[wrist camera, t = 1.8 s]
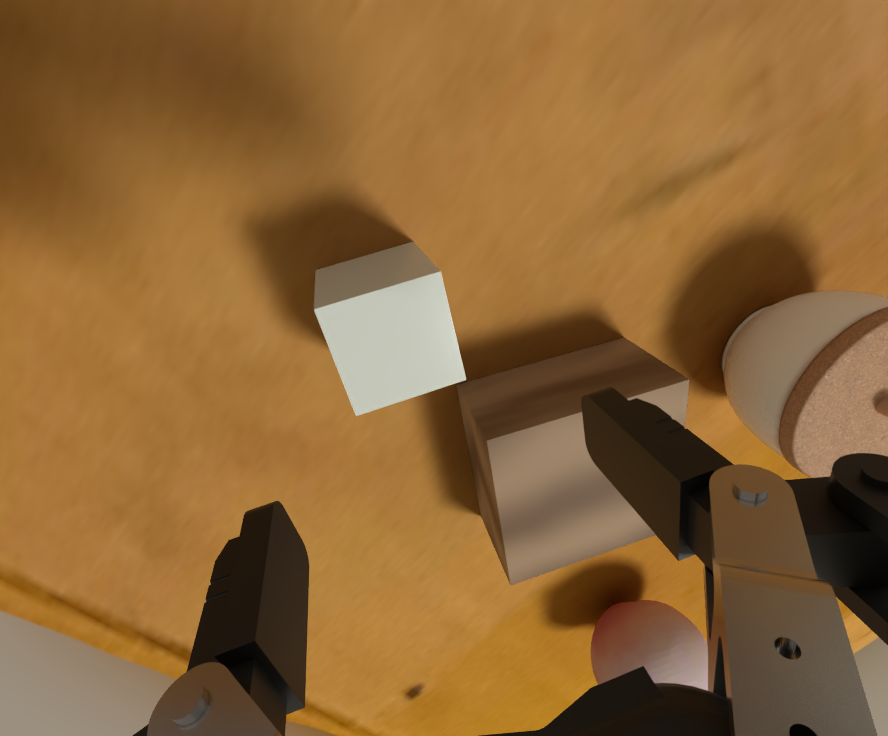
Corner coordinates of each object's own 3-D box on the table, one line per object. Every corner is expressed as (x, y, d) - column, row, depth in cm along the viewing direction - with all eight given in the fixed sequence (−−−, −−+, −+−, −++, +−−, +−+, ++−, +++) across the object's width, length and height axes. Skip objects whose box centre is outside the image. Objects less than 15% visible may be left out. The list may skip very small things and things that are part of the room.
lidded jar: (694, 434, 34) (813, 528, 25) (687, 307, 28) (835, 374, 20) (820, 379, 34) (976, 453, 26) (837, 244, 29) (1039, 284, 21)
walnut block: (454, 383, 27) (486, 440, 22) (621, 335, 28) (689, 379, 23) (479, 513, 32) (510, 585, 27) (620, 468, 34) (674, 528, 28)
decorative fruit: (676, 567, 41) (773, 683, 32) (638, 629, 44) (716, 750, 35) (589, 567, 38) (670, 696, 29) (554, 634, 41) (618, 768, 32)
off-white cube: (315, 269, 22) (313, 309, 17) (413, 241, 23) (440, 271, 17) (348, 357, 25) (356, 416, 19) (436, 330, 25) (466, 379, 20)
